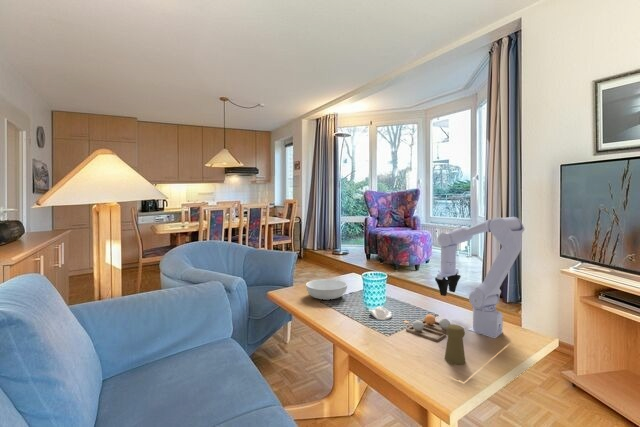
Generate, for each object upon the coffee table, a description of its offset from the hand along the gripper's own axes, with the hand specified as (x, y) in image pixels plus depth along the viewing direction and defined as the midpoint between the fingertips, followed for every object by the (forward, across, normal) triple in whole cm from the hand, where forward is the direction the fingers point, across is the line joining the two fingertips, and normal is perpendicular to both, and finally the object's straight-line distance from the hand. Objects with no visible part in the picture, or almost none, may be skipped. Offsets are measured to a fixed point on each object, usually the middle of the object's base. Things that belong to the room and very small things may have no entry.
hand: (447, 293), depth 134 cm
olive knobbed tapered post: (+10, +33, +19) cm, 39 cm away
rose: (+10, +20, -19) cm, 30 cm away
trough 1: (+10, +22, +3) cm, 25 cm away
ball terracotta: (+10, +14, 0) cm, 17 cm away
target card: (+10, +18, -6) cm, 22 cm away
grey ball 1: (+10, +22, 0) cm, 24 cm away
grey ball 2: (+10, +14, +6) cm, 18 cm away
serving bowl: (+10, +19, -54) cm, 58 cm away
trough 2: (+10, +14, +3) cm, 17 cm away
